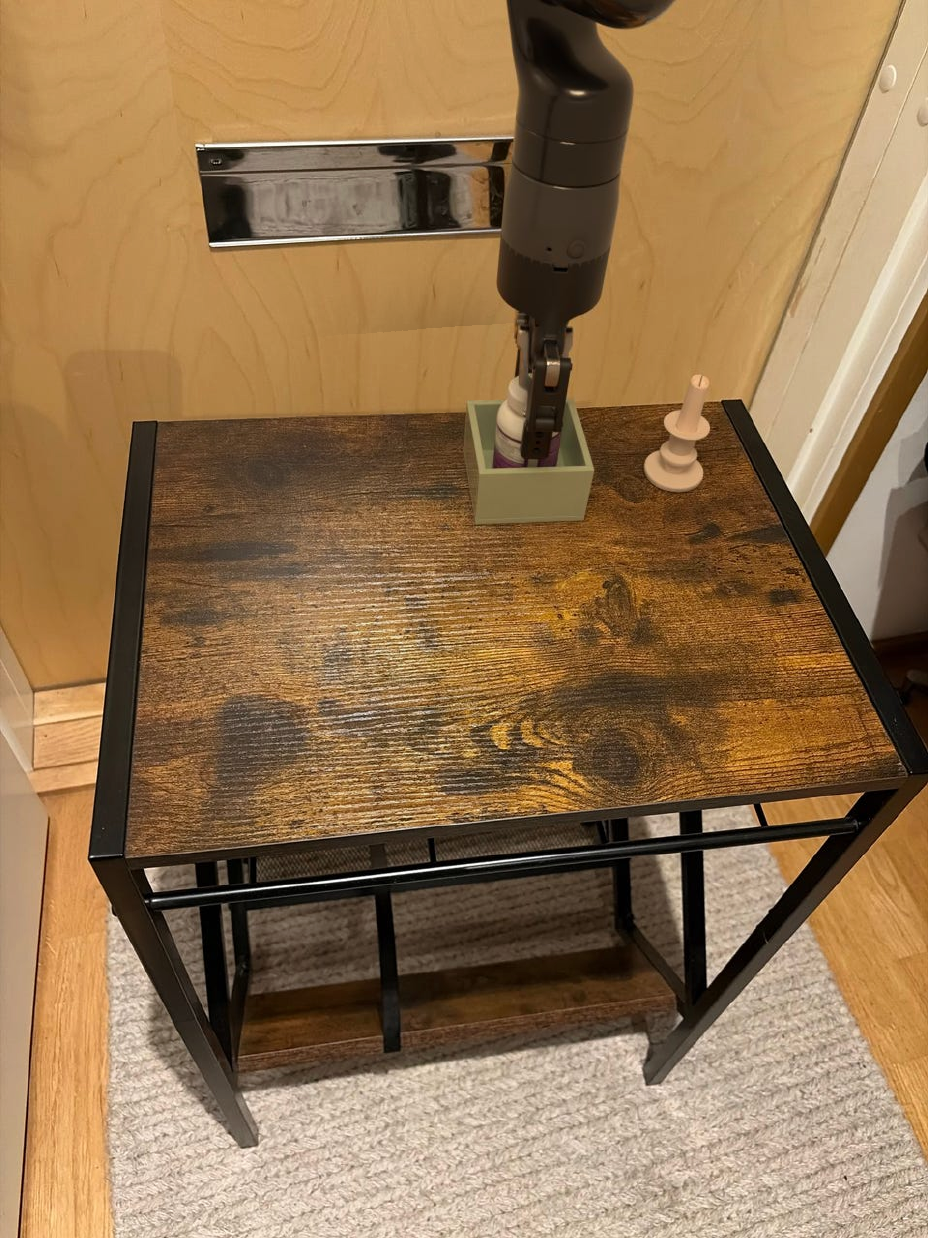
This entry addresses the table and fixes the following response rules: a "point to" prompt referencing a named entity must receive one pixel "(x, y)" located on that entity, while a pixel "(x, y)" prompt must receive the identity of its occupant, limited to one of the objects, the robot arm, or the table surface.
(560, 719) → the table surface
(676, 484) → the candle
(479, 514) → the green open box
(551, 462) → the pill bottle
